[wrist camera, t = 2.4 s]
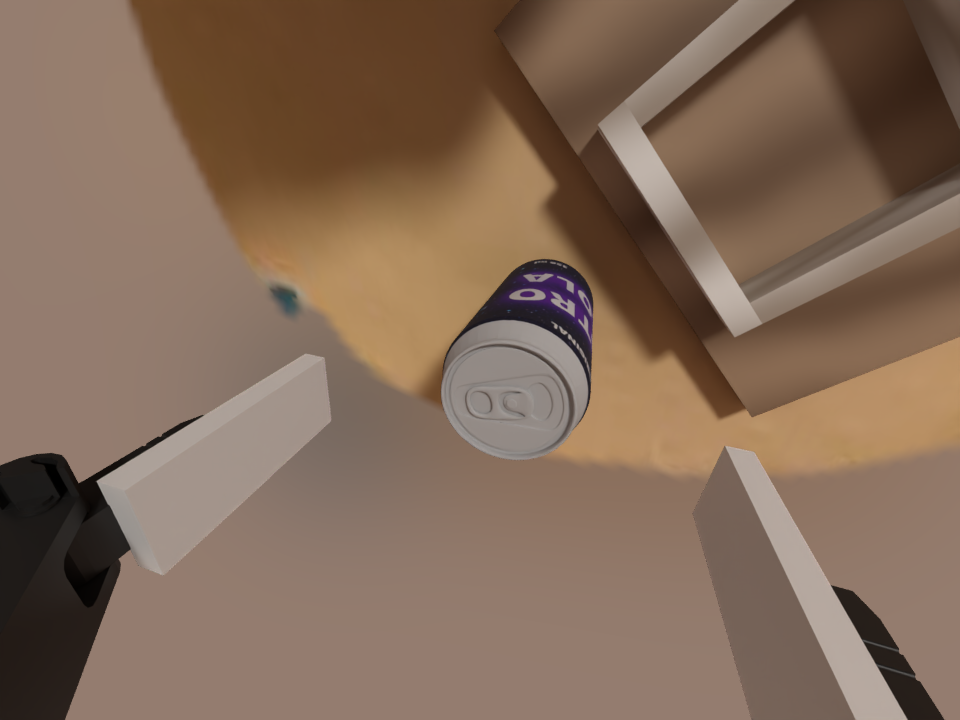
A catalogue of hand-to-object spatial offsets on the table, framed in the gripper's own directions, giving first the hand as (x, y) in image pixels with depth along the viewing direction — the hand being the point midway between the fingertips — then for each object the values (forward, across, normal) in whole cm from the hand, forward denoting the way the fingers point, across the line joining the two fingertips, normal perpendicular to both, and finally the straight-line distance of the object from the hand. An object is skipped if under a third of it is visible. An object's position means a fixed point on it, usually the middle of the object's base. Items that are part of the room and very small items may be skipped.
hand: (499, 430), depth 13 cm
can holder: (+13, +9, +10) cm, 19 cm away
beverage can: (+13, 0, +1) cm, 13 cm away
